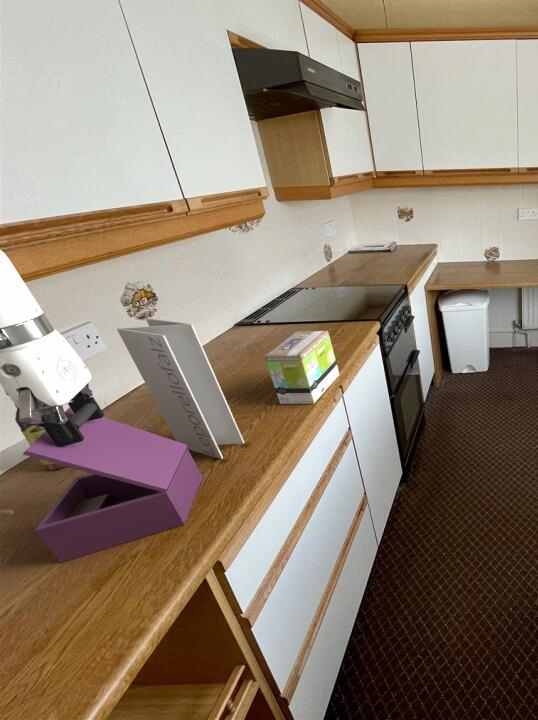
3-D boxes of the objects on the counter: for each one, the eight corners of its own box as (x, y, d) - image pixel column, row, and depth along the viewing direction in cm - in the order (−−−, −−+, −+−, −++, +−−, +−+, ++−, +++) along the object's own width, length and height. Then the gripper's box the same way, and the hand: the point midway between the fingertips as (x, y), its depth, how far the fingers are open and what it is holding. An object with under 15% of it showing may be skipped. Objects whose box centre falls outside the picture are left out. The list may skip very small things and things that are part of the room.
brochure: (179, 446, 94) (116, 328, 81) (202, 431, 98) (146, 318, 85) (222, 458, 89) (162, 335, 76) (244, 442, 94) (192, 324, 81)
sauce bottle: (56, 474, 88) (0, 397, 79) (40, 468, 90) (-16, 392, 81) (92, 454, 93) (44, 380, 85) (77, 448, 95) (28, 376, 87)
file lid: (22, 454, 60) (41, 428, 60) (68, 409, 71) (84, 387, 70) (163, 492, 70) (181, 470, 70) (185, 448, 80) (200, 429, 80)
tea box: (316, 404, 106) (300, 354, 100) (279, 405, 107) (261, 355, 100) (341, 374, 120) (328, 329, 113) (308, 375, 120) (293, 330, 114)
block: (109, 528, 73) (97, 511, 71) (78, 537, 71) (65, 520, 69) (120, 510, 76) (108, 493, 74) (90, 518, 75) (78, 501, 73)
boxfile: (60, 563, 68) (33, 530, 64) (96, 507, 78) (75, 477, 75) (184, 524, 73) (166, 492, 70) (202, 477, 84) (187, 448, 81)
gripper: (9, 351, 53) (85, 455, 61) (77, 308, 68) (131, 397, 76) (-69, 366, 51) (20, 473, 59) (19, 319, 65) (81, 409, 73)
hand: (82, 429), depth 67 cm, fingers closed on file lid, 6 cm apart
